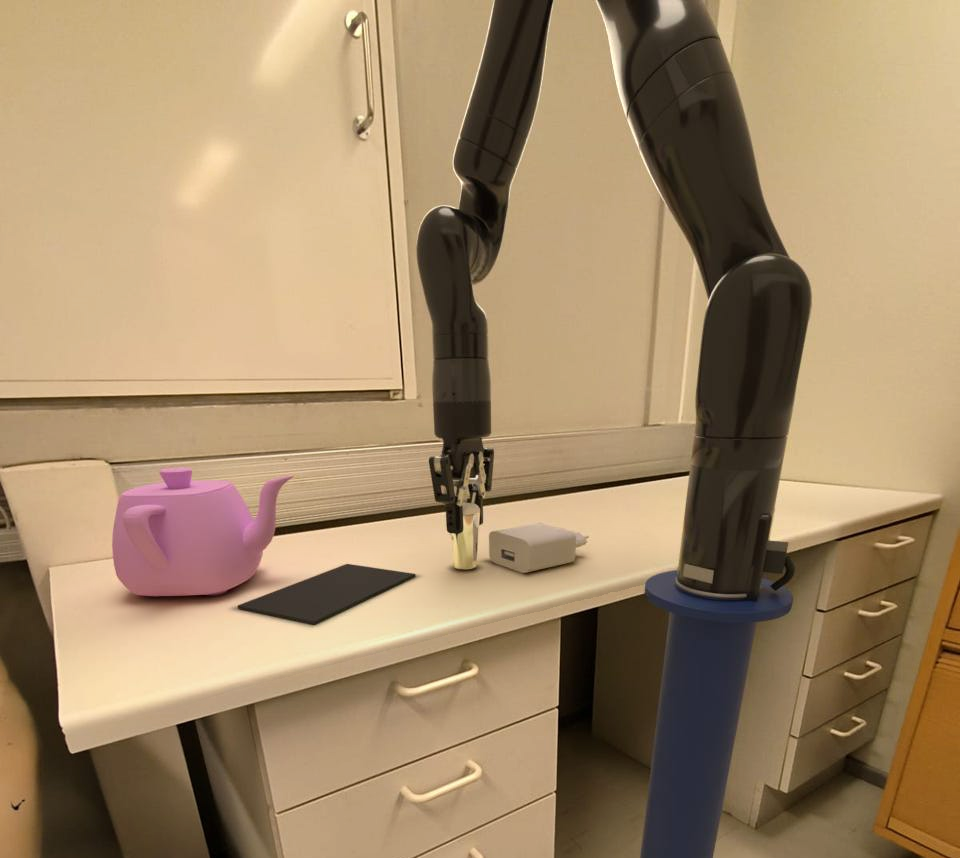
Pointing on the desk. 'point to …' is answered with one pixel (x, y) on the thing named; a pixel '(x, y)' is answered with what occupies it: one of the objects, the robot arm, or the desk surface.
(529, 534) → the charger
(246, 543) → the teapot
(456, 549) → the milkshake
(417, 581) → the desk surface
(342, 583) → the mat
